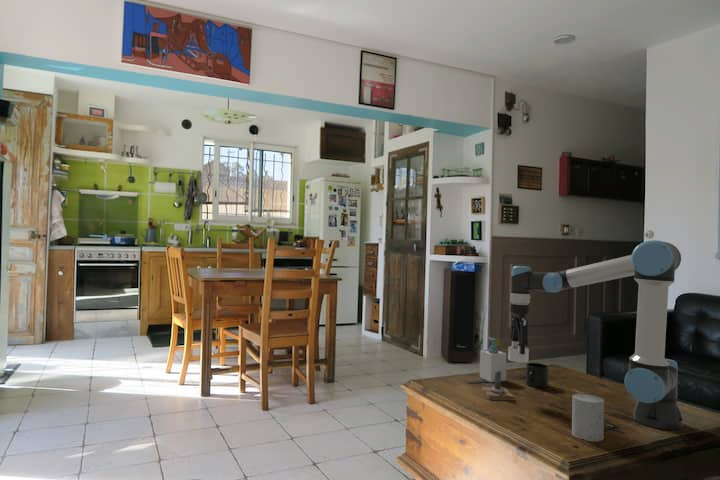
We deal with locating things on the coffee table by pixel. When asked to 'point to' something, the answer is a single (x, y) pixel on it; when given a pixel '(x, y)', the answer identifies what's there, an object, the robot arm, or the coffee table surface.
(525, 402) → the coffee table surface
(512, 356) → the ring
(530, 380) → the mug
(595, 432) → the white cylinder
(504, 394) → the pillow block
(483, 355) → the soap bottle
